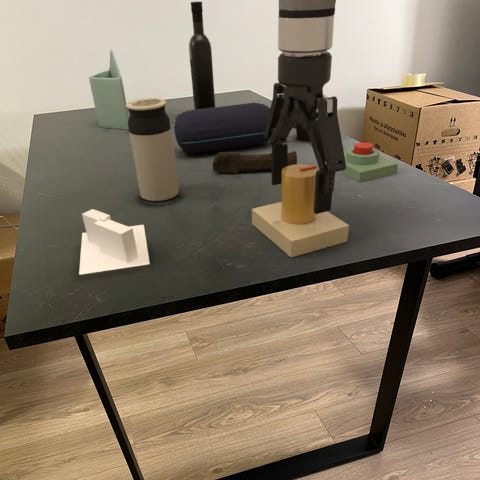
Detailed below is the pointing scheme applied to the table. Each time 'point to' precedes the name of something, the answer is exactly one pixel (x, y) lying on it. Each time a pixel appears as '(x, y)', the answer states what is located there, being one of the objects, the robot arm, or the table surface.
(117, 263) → the napkin holder
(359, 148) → the red button
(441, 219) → the table surface
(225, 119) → the portable speaker
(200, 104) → the wine bottle
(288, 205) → the tap knob
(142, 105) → the travel mug
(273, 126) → the robot arm
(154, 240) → the table surface
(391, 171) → the button box
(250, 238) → the table surface
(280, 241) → the panel
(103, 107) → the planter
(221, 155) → the hand tool
